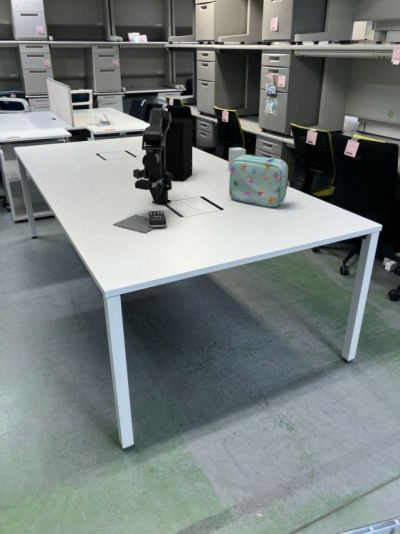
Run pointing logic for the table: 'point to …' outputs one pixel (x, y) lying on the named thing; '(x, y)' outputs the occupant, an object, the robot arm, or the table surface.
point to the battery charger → (156, 219)
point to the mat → (135, 223)
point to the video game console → (179, 148)
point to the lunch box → (258, 180)
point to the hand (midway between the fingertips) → (155, 201)
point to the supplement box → (235, 154)
